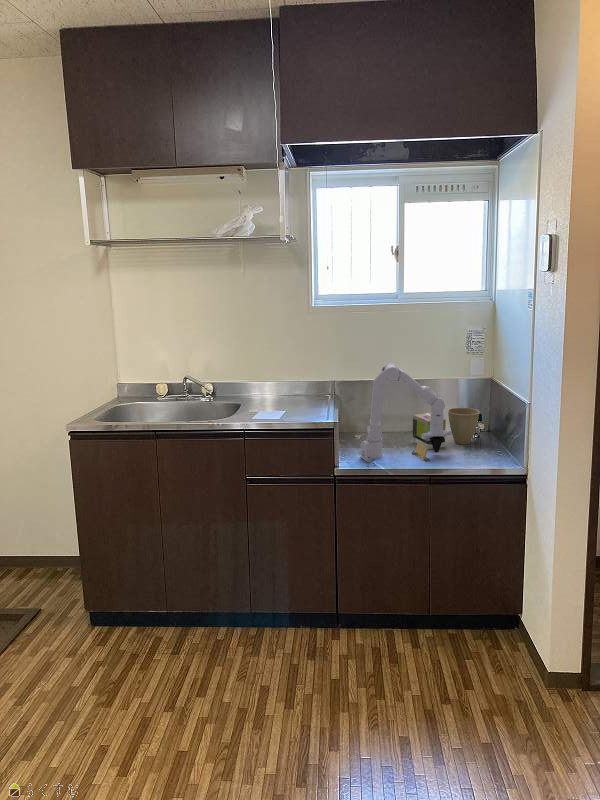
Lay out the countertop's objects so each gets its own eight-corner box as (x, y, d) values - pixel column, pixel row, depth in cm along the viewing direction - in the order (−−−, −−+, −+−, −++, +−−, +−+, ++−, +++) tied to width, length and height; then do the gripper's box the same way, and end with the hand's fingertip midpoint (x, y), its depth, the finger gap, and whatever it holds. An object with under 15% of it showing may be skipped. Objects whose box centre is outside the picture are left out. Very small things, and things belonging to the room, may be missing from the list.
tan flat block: (427, 446, 269) (430, 447, 270) (417, 441, 277) (420, 442, 278) (423, 461, 270) (426, 462, 271) (413, 456, 278) (417, 456, 279)
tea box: (445, 449, 289) (446, 419, 286) (427, 451, 286) (427, 421, 283) (429, 440, 303) (430, 412, 300) (411, 443, 300) (412, 414, 297)
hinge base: (425, 464, 269) (425, 458, 268) (411, 456, 280) (411, 451, 279) (443, 461, 272) (443, 456, 271) (429, 453, 283) (429, 448, 282)
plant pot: (477, 447, 289) (479, 415, 286) (445, 445, 294) (446, 414, 290) (478, 439, 303) (480, 408, 299) (448, 437, 307) (449, 406, 304)
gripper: (427, 427, 268) (426, 456, 271) (455, 423, 272) (454, 452, 275) (419, 423, 274) (418, 452, 277) (446, 419, 279) (446, 448, 282)
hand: (436, 451), depth 277 cm, fingers closed
